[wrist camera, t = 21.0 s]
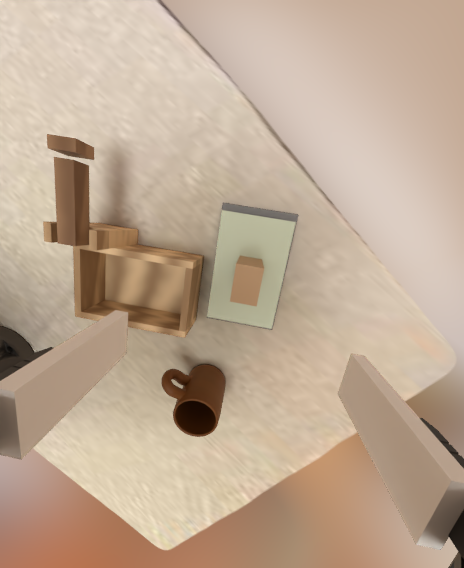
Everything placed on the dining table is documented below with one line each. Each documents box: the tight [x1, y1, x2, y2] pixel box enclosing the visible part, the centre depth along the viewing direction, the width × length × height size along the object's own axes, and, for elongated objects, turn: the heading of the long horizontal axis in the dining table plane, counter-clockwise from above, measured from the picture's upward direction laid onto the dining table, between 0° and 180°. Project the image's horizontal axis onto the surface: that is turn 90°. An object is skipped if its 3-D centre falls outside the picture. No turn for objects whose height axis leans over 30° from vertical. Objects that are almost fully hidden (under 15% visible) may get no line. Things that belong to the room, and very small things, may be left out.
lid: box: [207, 210, 296, 329], centre depth 33 cm, size 18×11×10 cm, turn 171°
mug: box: [162, 365, 225, 437], centre depth 40 cm, size 12×8×9 cm, turn 43°
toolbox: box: [43, 222, 204, 338], centre depth 35 cm, size 19×14×10 cm
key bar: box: [47, 134, 94, 246], centre depth 28 cm, size 3×12×3 cm, turn 171°
